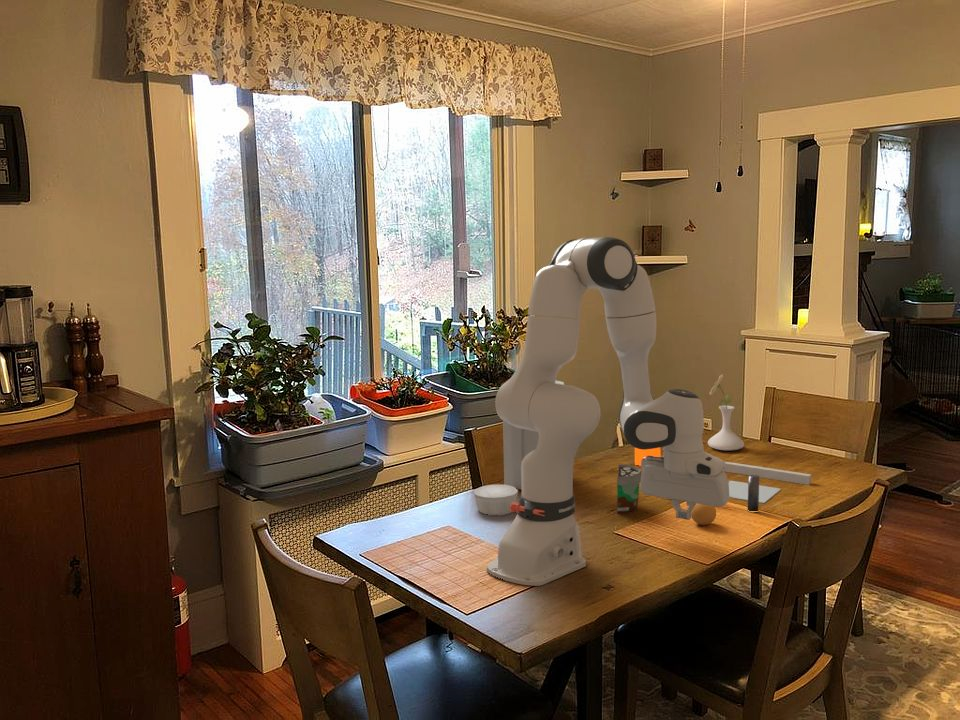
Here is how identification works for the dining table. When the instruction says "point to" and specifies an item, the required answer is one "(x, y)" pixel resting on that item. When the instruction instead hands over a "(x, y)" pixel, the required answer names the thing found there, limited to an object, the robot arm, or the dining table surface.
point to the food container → (627, 489)
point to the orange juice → (645, 454)
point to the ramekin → (495, 499)
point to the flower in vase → (725, 425)
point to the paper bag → (517, 451)
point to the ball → (703, 514)
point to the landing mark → (741, 491)
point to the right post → (753, 492)
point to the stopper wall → (768, 473)
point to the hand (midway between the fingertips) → (683, 518)
